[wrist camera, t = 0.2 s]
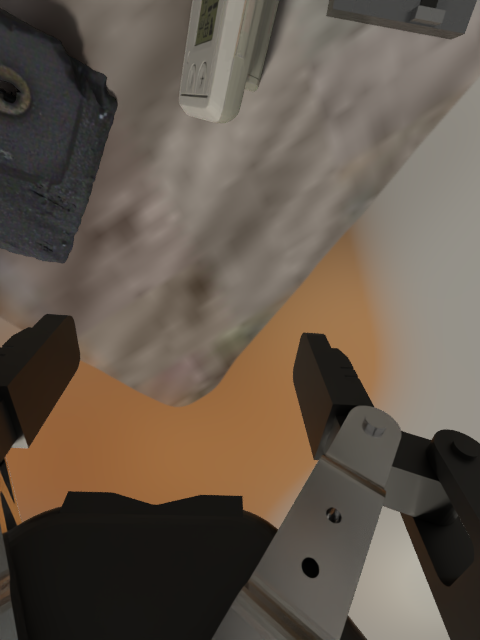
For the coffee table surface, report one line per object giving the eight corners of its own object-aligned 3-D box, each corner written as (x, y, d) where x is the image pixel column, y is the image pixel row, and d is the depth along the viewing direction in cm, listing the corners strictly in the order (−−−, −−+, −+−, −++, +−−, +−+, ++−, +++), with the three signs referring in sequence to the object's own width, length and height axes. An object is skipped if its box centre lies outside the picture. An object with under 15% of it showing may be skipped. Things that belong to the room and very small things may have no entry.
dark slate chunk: (-68, 211, 37) (-105, 221, 32) (-49, -27, 27) (-98, -55, 23) (70, 271, 41) (52, 286, 37) (128, 81, 31) (113, 74, 27)
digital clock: (220, -140, 24) (217, -303, 15) (320, -60, 27) (369, -161, 18) (150, 94, 31) (119, 78, 22) (233, 141, 34) (236, 144, 25)
